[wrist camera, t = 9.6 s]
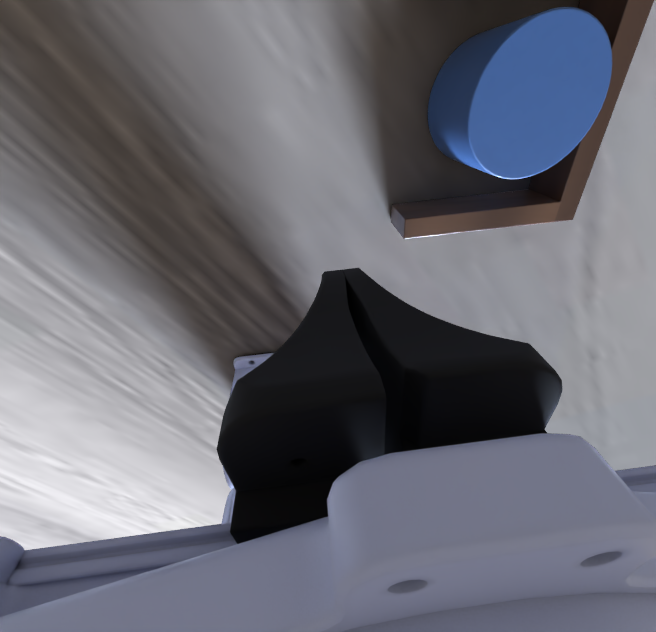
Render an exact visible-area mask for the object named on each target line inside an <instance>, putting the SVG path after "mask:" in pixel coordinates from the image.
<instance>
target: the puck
mask: <svg viewBox="0 0 656 632" xmlns="http://www.w3.org/2000/svg"><path fill="white" fill-rule="evenodd" d="M611 73H612V50H611V43H610V40H609V37H608V34H607V32H606V30H605V28H604V27H603V25H602V24H601V23H600V21H599V20H598V19H597V18H596V17H594V16H593V15H592V14H590V13H589V12H587V11H585V10H582V9H579V8H575V7H558V8H553V9H549V10H546V11H543V12H540V13H537V14H534V15H531V16H528V17H526V18H523V19H520V20H517V21H514V22H511V23H508V24H505V25H502V26H499V27H496V28H493V29H490V30H488V31H485V32H482V33H479V34H477V35H475V36H473V37H471V38H469V39H468V40H467V41H465V42H464V43H462V44H461V45H460V46H459V47H458V48H457V49H456V50H455V51H454V52H453V53H452V54H451V55H450V56H449V58H448V59H447V60H446V62H445V63H444V64H443V66H442V68H441V70H440V71H439V73H438V75H437V77H436V79H435V82H434V84H433V87H432V90H431V94H430V98H429V105H428V124H429V129H430V133H431V136H432V139H433V141H434V143H435V144H436V146H437V147H438V149H439V150H440V151H441V152H442V153H443V154H444V155H446V156H447V157H449V158H451V159H453V160H455V161H458V162H460V163H463V164H465V165H468V166H470V167H473V168H476V169H478V170H481V171H483V172H486V173H488V174H491V175H493V176H496V177H499V178H503V179H521V178H526V177H530V176H533V175H536V174H538V173H540V172H543V171H545V170H546V169H548V168H550V167H552V166H553V165H555V164H556V163H558V162H559V161H560V160H562V159H563V158H564V157H565V156H566V155H568V154H569V153H570V152H571V151H572V150H573V149H574V148H575V147H576V146H577V144H578V143H579V142H580V141H581V140H582V139H583V137H584V136H585V135H586V133H587V132H588V131H589V129H590V128H591V126H592V124H593V123H594V121H595V119H596V118H597V116H598V114H599V112H600V110H601V108H602V105H603V103H604V100H605V98H606V95H607V91H608V88H609V84H610V79H611Z"/></svg>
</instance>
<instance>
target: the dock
mask: <svg viewBox="0 0 656 632" xmlns="http://www.w3.org/2000/svg"><path fill="white" fill-rule="evenodd" d="M653 2H654V0H580V3H579V7H578V8H579V9H582V10H585V11H587V12H589V13H590V14H592V15H593V16H594V17H596V18H597V19H598V20H599V21H600V23H601V24H602V25H603V27H604V28H605V30H606V32H607V34H608V37H609V40H610V43H611V50H612V73H611V79H610V84H609V88H608V91H607V95H606V98H605V100H604V103H603V105H602V108H601V110H600V112H599V114H598V116H597V118H596V119H595V121H594V123H593V124H592V126H591V128H590V129H589V131H588V132H587V133H586V135H585V136H584V137H583V139H582V140H581V141H580V142H579V143H578V144H577V146H576V147H575V148H574V149H573V150H572V151H571V152H570V153H569V154H568V155H566V156H565V157H564V158H563V159H562V160H560V161H559V162H558V163H556V164H555V165H553V166H552V167H550V168H548V169H546V170H545V171H543V172H540V173H538V174H536V175H533V176H532V179H531V182H530V186H529V189H527V190H518V191H509V192H500V193H491V194H482V195H473V196H464V197H455V198H446V199H437V200H428V201H419V202H410V203H401V204H393V205H392V211H391V223H392V224H393V225H394V227H395V228H396V229H397V231H398V232H399V233H400V234H401V236H402V237H403V238H404V239H408V238H417V237H426V236H435V235H443V234H452V233H461V232H470V231H478V230H487V229H496V228H505V227H513V226H522V225H531V224H539V223H548V222H557V221H566V220H573V217H574V215H575V212H576V209H577V207H578V204H579V201H580V199H581V196H582V193H583V190H584V188H585V185H586V182H587V180H588V177H589V174H590V172H591V169H592V166H593V164H594V161H595V158H596V155H597V153H598V150H599V147H600V145H601V142H602V139H603V137H604V134H605V131H606V128H607V126H608V123H609V120H610V118H611V115H612V112H613V110H614V107H615V104H616V101H617V99H618V96H619V93H620V91H621V88H622V85H623V83H624V80H625V77H626V74H627V72H628V69H629V66H630V64H631V61H632V58H633V56H634V53H635V50H636V47H637V45H638V42H639V39H640V37H641V34H642V31H643V29H644V26H645V23H646V20H647V18H648V15H649V12H650V10H651V7H652V4H653Z"/></svg>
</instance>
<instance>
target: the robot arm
mask: <svg viewBox="0 0 656 632" xmlns="http://www.w3.org/2000/svg"><path fill="white" fill-rule="evenodd" d="M250 361H254V362H250ZM233 364H234V367H235V375H234V379H233V384H232V389H231V393H230V398H229V401H228V404H227V406H226V409H225V413H224V416H223V420H222V425H221V431H220V436H219V441H218V446H217V452H218V456H219V459H220V461H221V463H222V465H223V470H224V474H225V478H226V481H227V484H228V486H229V487H230V488H231V489H232V490H231V491H230V493H229V495H228V497H227V501H226V505H225V509H224V514H223V519H222V524H217V525H210V526H203V527H195V528H188V529H180V530H173V531H166V532H158V533H151V534H143V535H136V536H129V537H121V538H114V539H106V540H99V541H92V542H84V543H77V544H69V545H62V546H55V547H47V548H40V549H32V550H24V548H23V547H22V546H21V545H19V544H18V543H17V542H15V541H13V540H11V539H9V538H6V537H1V536H0V632H656V465H654V466H647V467H640V468H632V469H625V470H617V471H614V470H613V469H612V467H611V466H610V465H609V464H608V463H607V462H606V460H605V459H604V458H603V457H602V456H601V454H600V453H599V452H598V451H597V450H596V449H595V448H594V447H593V446H592V445H591V444H589V443H588V442H587V441H585V440H584V439H583V438H582V437H580V436H576V435H571V434H547V432H546V431H545V430H544V429H545V427H546V425H547V423H548V421H549V419H550V418H551V416H552V414H553V412H554V410H555V408H556V406H557V404H558V402H559V399H560V396H561V393H562V380H561V378H560V377H559V375H558V374H557V372H556V371H555V370H554V369H553V368H552V367H551V366H550V365H549V364H548V363H547V362H546V361H545V360H544V358H543V357H542V356H541V355H540V354H539V353H538V352H537V351H536V350H535V349H534V348H533V347H532V346H531V345H530V344H528V343H523V342H519V341H514V340H509V339H504V338H500V337H495V336H490V335H486V334H483V333H479V332H476V331H472V330H469V329H465V328H462V327H459V326H456V325H453V324H451V323H448V322H446V321H443V320H440V319H438V318H435V317H433V316H431V315H428V314H426V313H424V312H422V311H420V310H418V309H416V308H414V307H412V306H411V305H409V304H407V303H405V302H404V301H402V300H400V299H399V298H397V297H396V296H394V295H393V294H391V293H390V292H388V291H387V290H385V289H384V288H383V287H381V286H380V285H379V284H378V283H376V282H375V281H374V280H373V279H371V278H370V277H369V276H368V275H367V274H365V273H364V272H363V271H362V270H361V269H359V268H353V269H345V270H336V271H327V272H324V273H323V274H322V280H321V284H320V287H319V290H318V293H317V295H316V297H315V300H314V302H313V304H312V306H311V307H310V309H309V311H308V313H307V315H306V316H305V318H304V319H303V321H302V322H301V324H300V325H299V327H298V328H297V329H296V331H295V332H294V333H293V334H292V335H291V337H290V338H289V339H288V340H287V341H286V342H285V343H284V344H283V345H282V347H281V348H279V349H278V350H277V351H276V352H275V353H268V354H260V355H251V356H243V357H237V358H235V359H234V363H233Z"/></svg>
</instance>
